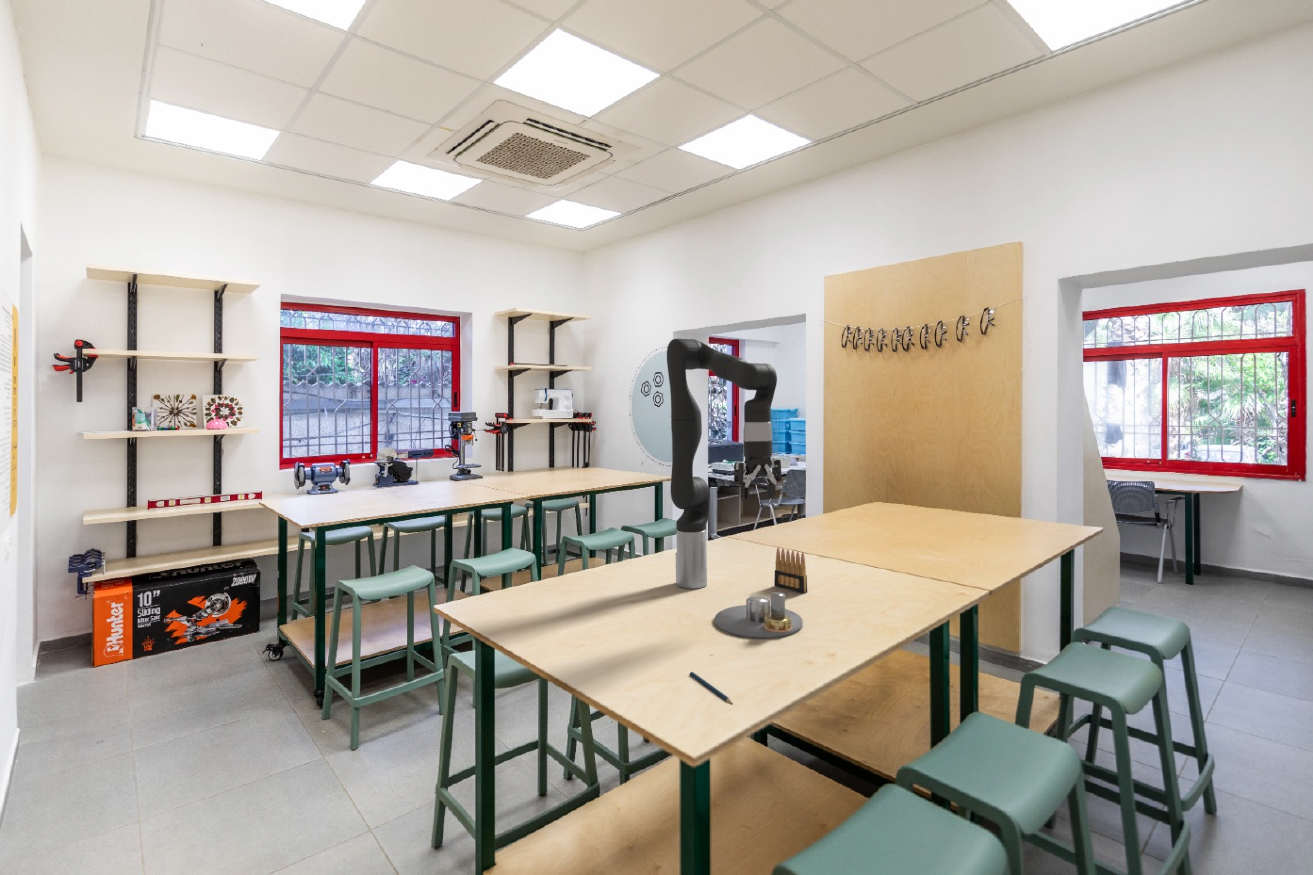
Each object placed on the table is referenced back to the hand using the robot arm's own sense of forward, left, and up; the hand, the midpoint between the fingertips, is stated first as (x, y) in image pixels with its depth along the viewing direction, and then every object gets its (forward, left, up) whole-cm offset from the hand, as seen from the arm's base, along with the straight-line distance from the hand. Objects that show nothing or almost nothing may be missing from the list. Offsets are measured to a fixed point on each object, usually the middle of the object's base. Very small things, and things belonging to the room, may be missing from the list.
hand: (758, 499), depth 169 cm
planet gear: (+15, -6, -29) cm, 33 cm away
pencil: (+31, -37, -31) cm, 58 cm away
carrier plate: (+7, -6, -30) cm, 31 cm away
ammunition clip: (-10, +20, -30) cm, 38 cm away
